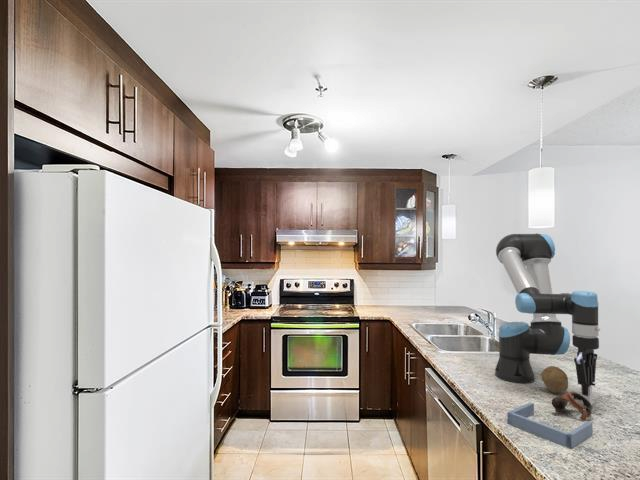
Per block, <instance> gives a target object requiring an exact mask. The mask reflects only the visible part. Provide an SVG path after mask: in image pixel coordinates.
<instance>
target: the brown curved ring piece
mask: <svg viewBox="0 0 640 480" xmlns="http://www.w3.org/2000/svg"><path fill="white" fill-rule="evenodd" d="M576 400H577V401H576ZM578 401H581V402H582V401H583V405H582V404H581V403H579V402H578ZM568 402H569V403H568ZM568 404H569V405H570V406H572V407H573V408H574V409H576V410H577V411H579V412H580V413H581V414H580V415H581V416H580V417H579V419H580V420H581V421H582V422H584V421H586V420H587V419H588V418H590V416H591V415H592V410H593V404H592V405H591V404H590V402H589V401H588V400H587V399H586V398H584V397H583V396H582V395H581V394H579V393H577V392H574V391H570V392H569V393H564V394H561V396H556V397H553V398H552V399H551V405H552V408H554V410H555V412H556V413H559V414H563V413H564V410H565V409H566V407H567V406H568Z"/></svg>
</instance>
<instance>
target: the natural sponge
mask: <svg viewBox="0 0 640 480" xmlns="http://www.w3.org/2000/svg"><path fill="white" fill-rule="evenodd" d="M540 377H541V380H542V382H543V384H544V386H545V387H546V388H547V390H548V391H550V392H551V393H552V394H560V393H562V392H563V393H565V392H566V391H567V390H569V379H568V375H567V373H566V372H565V370H563V369H561V367H558V366H555V365H554V366H553V365H551V366H548V367H546V368H544V369H543V370H542V372H541V375H540Z"/></svg>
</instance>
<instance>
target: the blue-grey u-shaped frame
mask: <svg viewBox="0 0 640 480" xmlns="http://www.w3.org/2000/svg"><path fill="white" fill-rule="evenodd" d="M506 413H507V414H506V415H507V417H506V418H507V425H509V426H512V427H515V428H518V429H520V430H523V431H524V432H528V433H531V434H533V435H535V436H538V437H541V438H543V439H545V440H548V441H551V442H553V443H555V444H558V445H560V446H563V447H566V448H568V449H570V450H572V449H574V448H575V447H577V446H578V445H580V444H581V443H583V442H584V441H586V440H587V439H589V438H590V437H592V436H593V435H594V434H593V432H594V431H593V429H594V427H593V422H591V421H586V422H584V423H583V424H581V425H579V426H577V427H576V428H574V429H573V430H570V431H569V432H567V431H564V430H560V429H558V428H555V427H554V426H550V425H547V424H544V423H542V422H539V421H537V420H534V419H532V418H529V417H531V416H533V415H535V404H534V403H533V402H528V403H525V404H523V405H521V406H519V407H516V408H514V409H512V410H509V411H507V412H506Z"/></svg>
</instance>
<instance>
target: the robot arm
mask: <svg viewBox="0 0 640 480" xmlns="http://www.w3.org/2000/svg"><path fill="white" fill-rule="evenodd" d="M555 246H556V245H555V243H554V240H553V238H552V237H551V236H550V235H548V234H546V233H538V232H537V233H511V234H508V235H505V236H504V237H503V238H501V239H500V240H499V242H498V243H497V246H496V248H495V256H496V257H497V260H498V262H499V263H501V264H503V266H504V269H505V270H506V273H507V275H508V277H509V280H510V281H511V283H512V285H513V287H514V289H515V291H516V296H515V300H514V302H515V308H516V310H517V311H518V312H519V313H523V314H532V316H533V319H532V320H531V321H530V322H529V323H530V324H529V323H528V322H524V321H509V322H503V323H501V324H500V325H499V327H498V345H499V347H498V349H499V350H498V352H499V356H498V361H497V362H496V366H495V369H494V370H495V371H494V373H495V374H494V375H495V377H497V378H498V379H499V380H504V381H506V382H510V383H515V384H516V383H518V384H529V383H534V382H535V380H536V379H535V378H536V377H535V373H534V370H533V366H532V364H531V361H530V360H531V359H530V355H551V356H555V355H557V356H558V355H564V354H566V353H567V352H568V351H569V348H570V344H571V343H570V342H571V339H572V346H573V347H575V348H577V352H576V353H577V354H576V356H577V357H574V358H573V361H574V364H575V371H576V379H577V384H578V385H580V386H581V387H580V390H581V394H580V395H582V396H583V397H584V398H586V399H587V400H588V401H589V402H590V404H591V405H592V406H593V387H595V386H596V383H595V382H596V370H597V369H596V368H597V359H598V354H597V353H595V350H598V349H600V338H598V337H599V332H600V331H601V328H600V327H599V301H598V294H597V293H596V292H594V291H587V290H586V291H584V290H575V291H572V293H569V292H567V293H566V292H565V293H564V292H560V293H553V288H552V283H551V277H550V271H549V269H550V268H549V264H550V263H551V262H552V259H554V257H555V255H556V252H555V251H556V247H555ZM557 315H570V316H571V333H572V334H573V335H572V337H571V335H570V332H569V329H568V328H567V327H565V326H563V325H562V321H560V320H559V319H558V318H557ZM582 404H583V401H582V400H581V405H582ZM583 405H584V404H583Z"/></svg>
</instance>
